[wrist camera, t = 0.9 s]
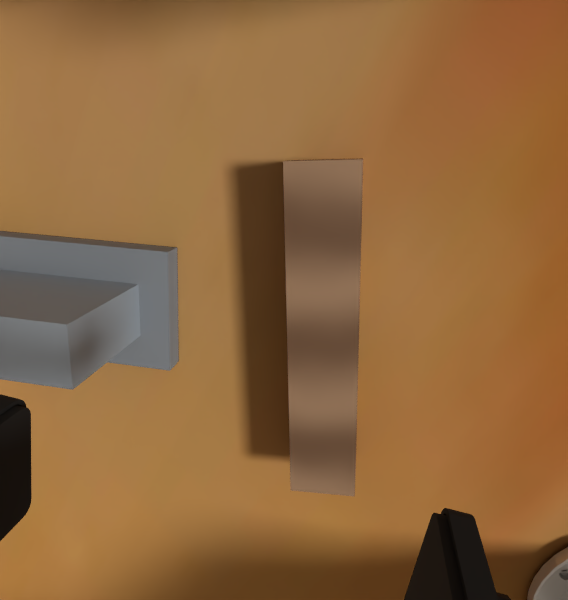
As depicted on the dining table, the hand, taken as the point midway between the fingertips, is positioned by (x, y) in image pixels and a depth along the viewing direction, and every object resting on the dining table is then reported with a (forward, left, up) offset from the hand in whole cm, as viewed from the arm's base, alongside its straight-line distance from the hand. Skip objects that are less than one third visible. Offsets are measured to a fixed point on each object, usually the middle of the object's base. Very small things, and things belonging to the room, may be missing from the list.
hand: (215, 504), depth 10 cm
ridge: (-3, +16, -20) cm, 26 cm away
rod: (-3, -1, -20) cm, 20 cm away
